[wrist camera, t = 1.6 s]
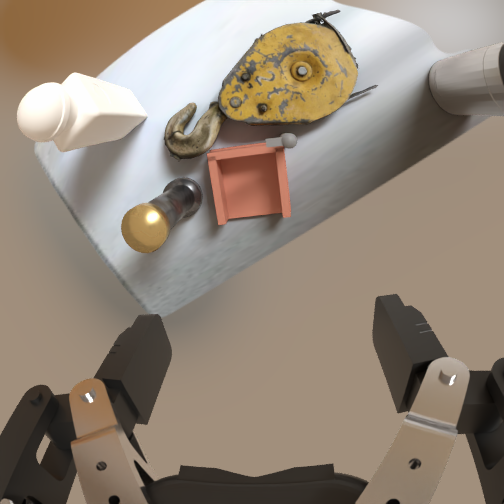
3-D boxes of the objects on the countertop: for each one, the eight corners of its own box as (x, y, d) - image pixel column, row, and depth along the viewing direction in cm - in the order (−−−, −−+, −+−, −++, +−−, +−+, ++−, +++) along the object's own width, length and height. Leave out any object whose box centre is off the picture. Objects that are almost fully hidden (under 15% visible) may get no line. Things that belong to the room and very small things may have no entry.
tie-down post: (199, 174, 43) (162, 198, 28) (205, 212, 45) (174, 253, 30) (162, 180, 43) (112, 207, 28) (169, 217, 45) (125, 259, 30)
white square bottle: (152, 117, 40) (60, 112, 19) (120, 144, 41) (19, 163, 21) (130, 84, 38) (33, 63, 17) (99, 112, 39) (-5, 114, 19)
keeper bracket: (289, 132, 40) (296, 132, 30) (297, 209, 44) (306, 234, 34) (209, 143, 41) (190, 146, 31) (221, 218, 45) (207, 244, 35)
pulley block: (129, 104, 33) (342, -2, 27) (143, 102, 38) (330, 8, 32) (186, 193, 39) (390, 93, 33) (193, 180, 44) (373, 92, 38)
